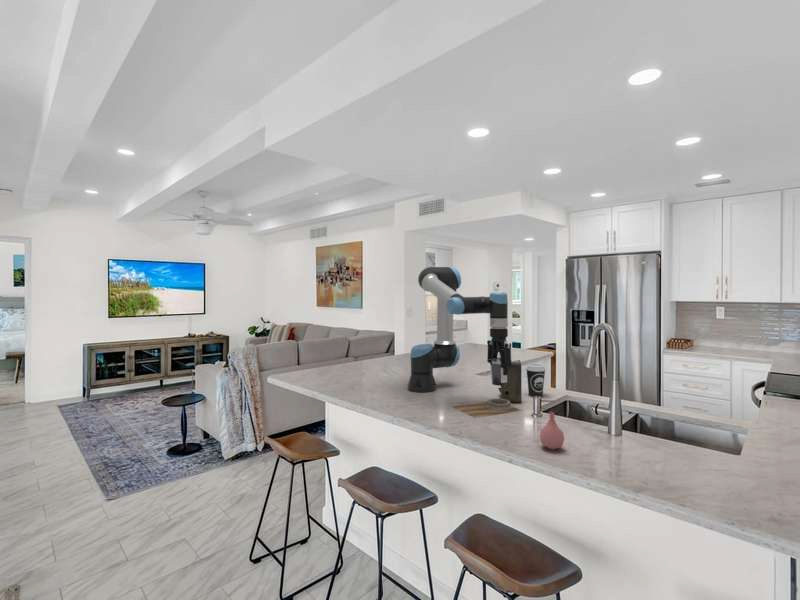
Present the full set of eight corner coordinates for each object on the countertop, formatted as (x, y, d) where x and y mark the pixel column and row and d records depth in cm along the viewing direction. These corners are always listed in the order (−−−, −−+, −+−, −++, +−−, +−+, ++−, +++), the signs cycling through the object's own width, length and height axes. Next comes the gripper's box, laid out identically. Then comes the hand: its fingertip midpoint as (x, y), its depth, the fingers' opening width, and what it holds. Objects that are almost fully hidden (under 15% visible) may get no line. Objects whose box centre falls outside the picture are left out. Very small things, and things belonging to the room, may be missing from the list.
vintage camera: (516, 396, 208) (515, 356, 208) (522, 403, 193) (521, 360, 193) (496, 396, 209) (495, 356, 209) (501, 403, 194) (500, 360, 194)
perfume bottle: (541, 442, 145) (541, 408, 144) (565, 446, 142) (565, 410, 141) (538, 450, 138) (538, 414, 137) (563, 454, 135) (563, 417, 134)
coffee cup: (547, 394, 208) (548, 364, 208) (543, 399, 200) (543, 368, 200) (528, 392, 213) (528, 363, 213) (523, 396, 205) (523, 366, 205)
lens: (489, 383, 183) (488, 357, 183) (500, 381, 186) (500, 356, 186) (497, 386, 178) (497, 359, 177) (509, 384, 180) (509, 358, 180)
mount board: (451, 409, 184) (451, 400, 184) (495, 403, 194) (495, 393, 194) (475, 421, 168) (475, 411, 167) (522, 413, 178) (522, 403, 178)
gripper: (478, 326, 188) (479, 377, 189) (506, 330, 171) (506, 386, 172) (492, 325, 191) (492, 376, 192) (520, 329, 174) (520, 384, 175)
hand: (499, 380), depth 182 cm, fingers closed on lens, 6 cm apart
